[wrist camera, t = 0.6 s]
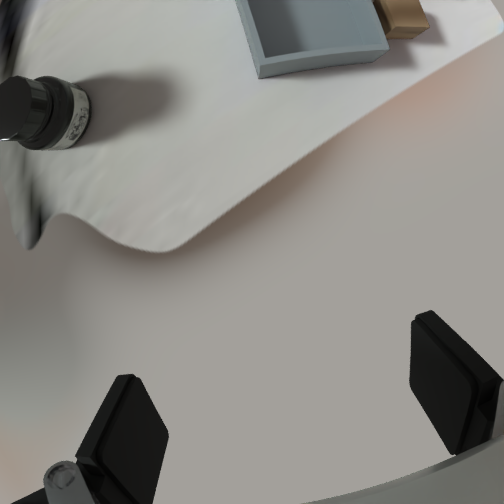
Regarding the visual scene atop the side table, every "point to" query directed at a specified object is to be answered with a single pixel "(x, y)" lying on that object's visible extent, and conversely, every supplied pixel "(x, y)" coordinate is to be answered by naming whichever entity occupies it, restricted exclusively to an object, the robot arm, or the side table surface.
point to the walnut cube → (401, 18)
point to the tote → (310, 34)
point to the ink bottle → (43, 112)
